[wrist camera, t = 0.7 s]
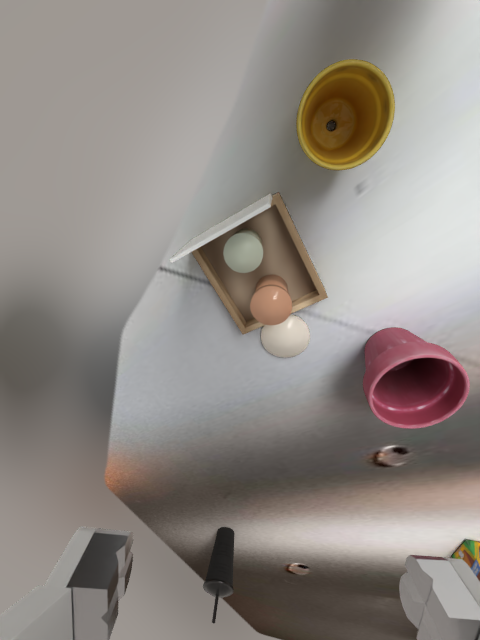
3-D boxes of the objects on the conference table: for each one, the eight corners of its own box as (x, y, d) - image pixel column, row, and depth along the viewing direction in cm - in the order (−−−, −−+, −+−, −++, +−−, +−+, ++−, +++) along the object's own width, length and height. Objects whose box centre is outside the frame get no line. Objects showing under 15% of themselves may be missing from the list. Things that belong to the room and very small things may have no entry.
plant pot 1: (301, 178, 46) (307, 182, 37) (285, 96, 42) (287, 80, 33) (375, 154, 44) (399, 153, 35) (366, 66, 39) (391, 39, 31)
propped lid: (270, 193, 45) (268, 202, 35) (273, 198, 45) (271, 209, 35) (191, 239, 49) (169, 259, 39) (194, 243, 49) (173, 265, 39)
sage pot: (253, 219, 49) (251, 226, 43) (270, 251, 51) (269, 262, 45) (222, 236, 50) (216, 245, 45) (240, 267, 52) (235, 279, 47)
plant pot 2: (423, 380, 60) (457, 432, 48) (347, 379, 61) (363, 429, 50) (439, 313, 53) (483, 354, 42) (354, 314, 55) (374, 354, 44)
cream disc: (297, 306, 55) (297, 307, 55) (317, 344, 58) (317, 347, 58) (252, 325, 58) (252, 327, 57) (274, 361, 61) (274, 364, 61)
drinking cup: (229, 521, 88) (217, 613, 70) (244, 536, 90) (236, 627, 73) (207, 527, 90) (190, 617, 73) (222, 541, 93) (209, 631, 75)
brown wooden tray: (278, 191, 47) (278, 193, 44) (325, 290, 53) (327, 297, 51) (192, 241, 52) (187, 246, 49) (244, 326, 58) (242, 334, 56)
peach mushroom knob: (280, 265, 52) (280, 280, 45) (296, 297, 54) (299, 315, 48) (246, 282, 54) (242, 298, 47) (263, 312, 56) (262, 331, 50)
